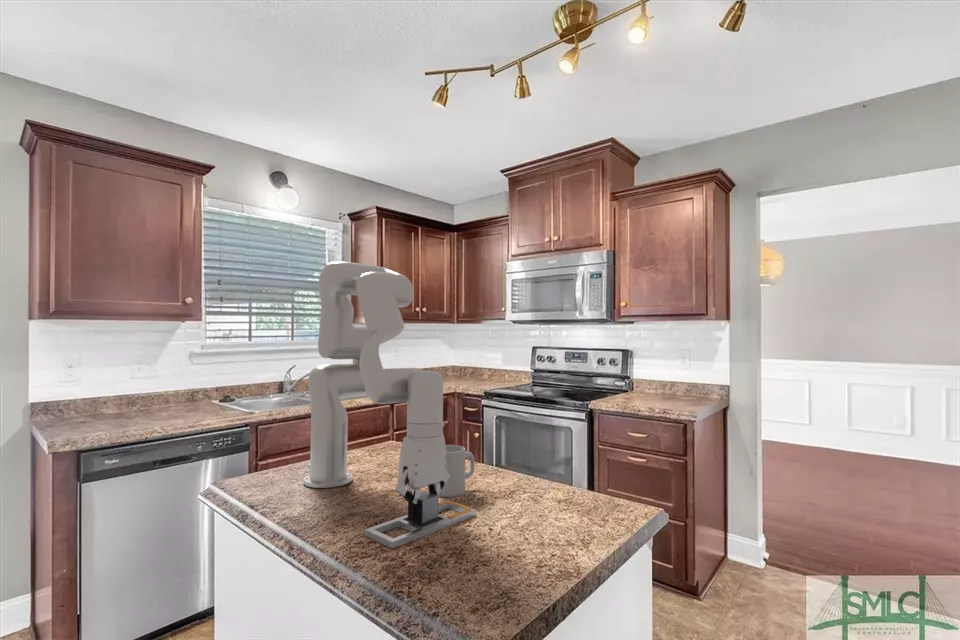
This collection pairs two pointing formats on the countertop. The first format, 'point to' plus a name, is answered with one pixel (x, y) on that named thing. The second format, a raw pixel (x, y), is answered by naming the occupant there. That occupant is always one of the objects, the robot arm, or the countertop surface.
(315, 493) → the countertop surface
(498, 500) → the countertop surface
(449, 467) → the mug
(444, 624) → the countertop surface
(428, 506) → the grey rectangular block
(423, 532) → the grey flat frame
